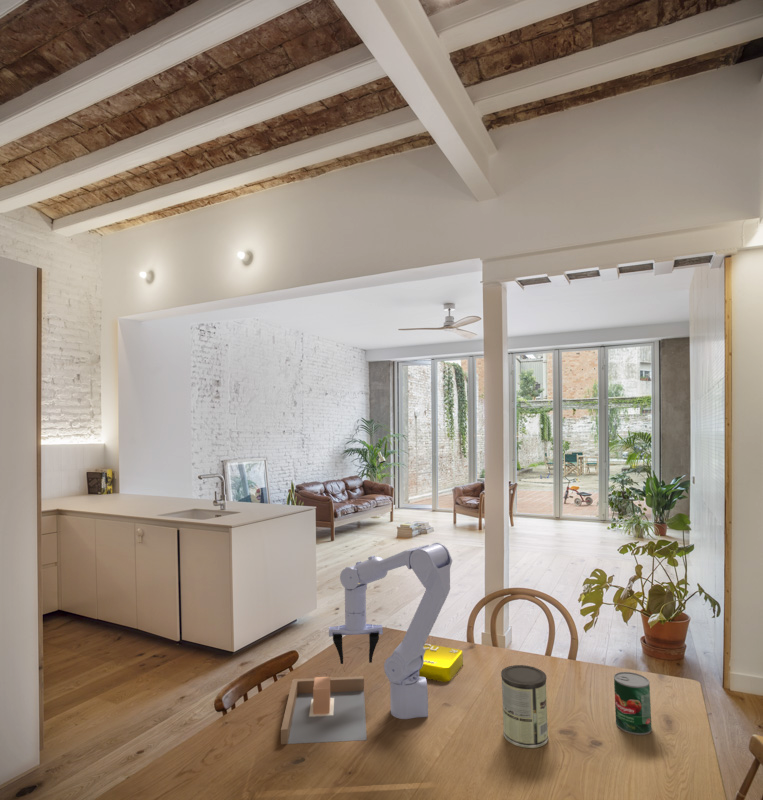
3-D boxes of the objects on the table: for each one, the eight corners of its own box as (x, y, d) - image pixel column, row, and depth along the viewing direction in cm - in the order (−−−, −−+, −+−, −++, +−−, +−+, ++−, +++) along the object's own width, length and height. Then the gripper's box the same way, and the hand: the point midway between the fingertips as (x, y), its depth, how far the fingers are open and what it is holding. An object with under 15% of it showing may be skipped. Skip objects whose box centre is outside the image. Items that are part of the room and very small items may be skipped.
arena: (363, 691, 151) (363, 676, 151) (366, 743, 126) (366, 725, 126) (292, 694, 150) (292, 679, 150) (280, 747, 125) (280, 729, 125)
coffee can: (505, 721, 135) (503, 662, 135) (549, 728, 131) (547, 667, 132) (500, 744, 125) (498, 680, 126) (547, 752, 121) (545, 686, 122)
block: (329, 713, 138) (329, 688, 138) (313, 714, 138) (313, 689, 138) (330, 699, 145) (330, 676, 145) (315, 700, 145) (314, 677, 145)
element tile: (400, 674, 162) (400, 658, 162) (419, 655, 175) (419, 640, 176) (448, 684, 155) (448, 667, 156) (464, 664, 169) (464, 648, 169)
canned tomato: (652, 722, 133) (650, 675, 134) (651, 738, 126) (649, 689, 127) (617, 714, 137) (615, 669, 138) (613, 729, 130) (612, 682, 131)
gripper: (381, 604, 153) (382, 654, 153) (329, 606, 152) (329, 656, 152) (382, 613, 146) (383, 665, 146) (328, 615, 145) (328, 667, 145)
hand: (356, 661), depth 148 cm, fingers open, 7 cm apart
